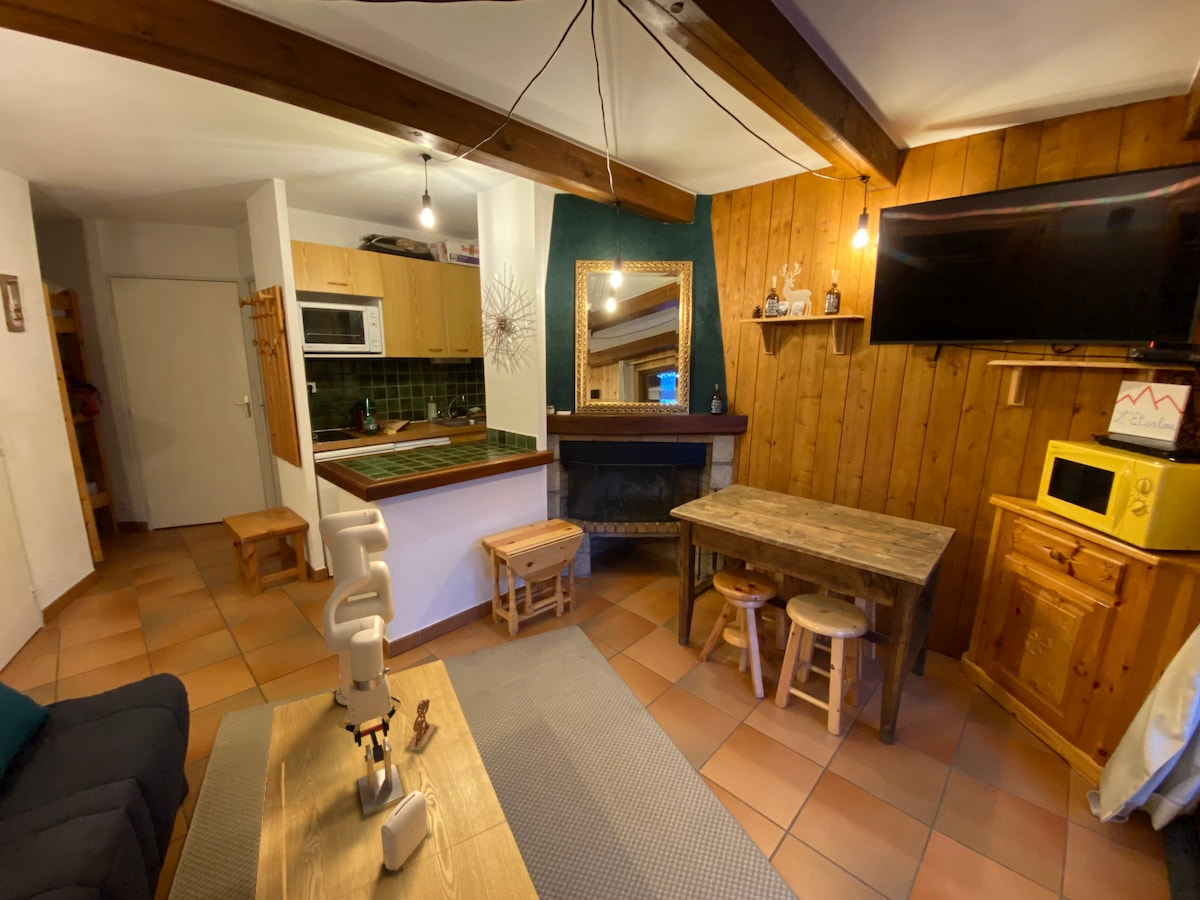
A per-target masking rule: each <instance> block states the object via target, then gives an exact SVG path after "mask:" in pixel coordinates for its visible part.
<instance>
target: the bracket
mask: <svg viewBox="0 0 1200 900" xmlns="http://www.w3.org/2000/svg"><path fill="white" fill-rule="evenodd" d="M382 747H383V751H384V760H383V765H384V767H383V768H382V769H378V770H376V771H375V770H374V759H373V753H372V747H371V744H366V745H365V747H364V748H365V755H363V756H364V757H363V758H364V763H366V775H364V776H362V777H359V778H357V784H358V790H359V797H360V801H361V806H362V811H363V815H366V814H368V813H370V812H372V811H375V810H377V809H379V808H381V807H383V806H385V805H388V804H390V803H393V802H394V801H396V800H399V799H401V798H403V797H405V793H404V790H403V787H402V783H401V780H400V777H399V773H398V769H397V766H396V763H393V764H392V755H391V754H392V752H393V751H392V749H393V748H392V745H390V744H389V740H388V737H384V738H382Z"/></svg>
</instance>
